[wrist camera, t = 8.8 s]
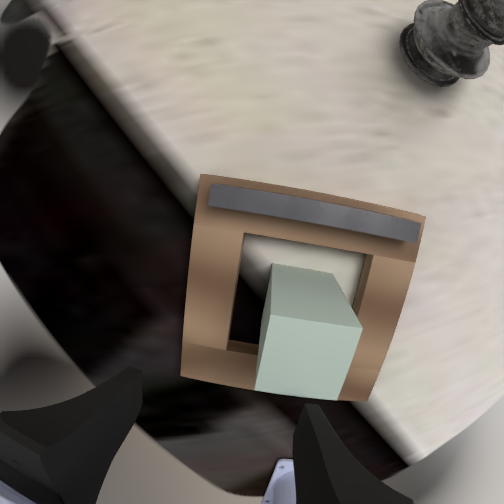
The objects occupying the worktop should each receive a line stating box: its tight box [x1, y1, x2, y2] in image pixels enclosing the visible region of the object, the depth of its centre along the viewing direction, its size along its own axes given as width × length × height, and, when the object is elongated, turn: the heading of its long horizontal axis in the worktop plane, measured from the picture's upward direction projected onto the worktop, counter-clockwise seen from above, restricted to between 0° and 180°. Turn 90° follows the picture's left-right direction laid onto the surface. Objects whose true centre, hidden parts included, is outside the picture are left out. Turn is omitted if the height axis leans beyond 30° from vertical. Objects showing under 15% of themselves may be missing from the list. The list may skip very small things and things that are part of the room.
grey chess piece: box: [400, 0, 504, 87], centre depth 10 cm, size 6×6×12 cm
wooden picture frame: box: [180, 174, 426, 401], centre depth 20 cm, size 14×14×2 cm
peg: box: [254, 263, 363, 400], centre depth 17 cm, size 4×4×8 cm
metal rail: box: [208, 183, 421, 243], centre depth 17 cm, size 1×12×2 cm, turn 81°
